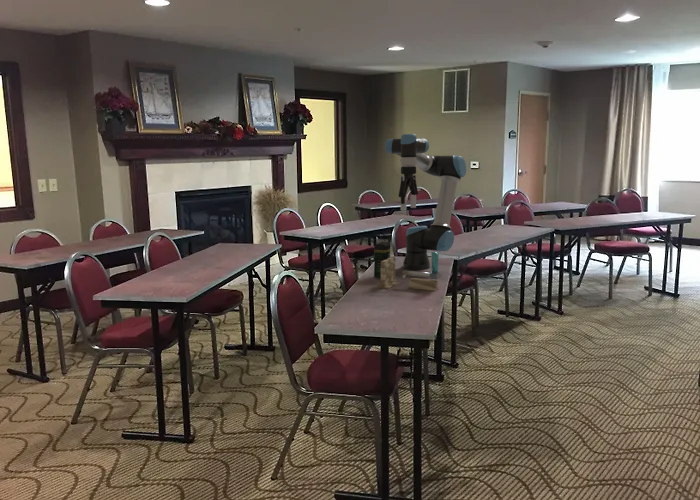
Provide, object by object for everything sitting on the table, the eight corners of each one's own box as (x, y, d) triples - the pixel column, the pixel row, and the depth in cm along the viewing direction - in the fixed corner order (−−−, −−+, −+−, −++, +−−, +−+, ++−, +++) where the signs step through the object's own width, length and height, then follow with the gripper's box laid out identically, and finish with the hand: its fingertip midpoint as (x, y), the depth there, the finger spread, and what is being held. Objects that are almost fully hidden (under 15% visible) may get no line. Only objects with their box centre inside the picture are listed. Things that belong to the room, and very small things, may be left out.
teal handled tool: (404, 276, 284) (404, 249, 282) (439, 279, 277) (439, 252, 274) (402, 277, 282) (402, 251, 279) (436, 281, 274) (437, 253, 272)
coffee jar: (386, 279, 300) (386, 243, 297) (372, 278, 303) (372, 243, 300) (392, 275, 309) (392, 240, 306) (378, 274, 312) (378, 240, 308)
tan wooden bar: (412, 286, 283) (412, 277, 283) (437, 289, 278) (437, 280, 277) (409, 288, 281) (410, 279, 280) (435, 290, 275) (435, 281, 274)
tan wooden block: (388, 281, 295) (388, 256, 293) (399, 282, 292) (399, 257, 290) (376, 287, 283) (376, 261, 280) (388, 288, 280) (388, 262, 278)
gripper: (410, 165, 298) (410, 206, 301) (391, 167, 276) (391, 211, 279) (424, 165, 294) (424, 206, 298) (406, 167, 272) (406, 212, 276)
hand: (408, 209), depth 289 cm, fingers open, 13 cm apart
